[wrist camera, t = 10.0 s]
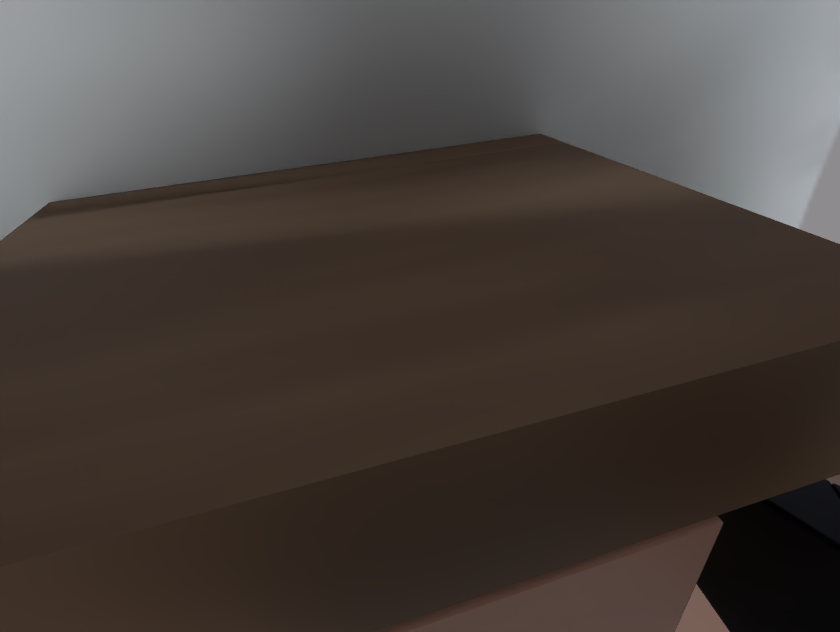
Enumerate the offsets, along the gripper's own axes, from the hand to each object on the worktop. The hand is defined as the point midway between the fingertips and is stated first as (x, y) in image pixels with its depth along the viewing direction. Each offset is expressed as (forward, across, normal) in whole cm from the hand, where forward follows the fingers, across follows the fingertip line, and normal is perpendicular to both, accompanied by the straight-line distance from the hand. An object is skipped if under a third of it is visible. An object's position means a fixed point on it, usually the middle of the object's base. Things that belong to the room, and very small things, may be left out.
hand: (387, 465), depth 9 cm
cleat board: (+4, 0, 0) cm, 4 cm away
